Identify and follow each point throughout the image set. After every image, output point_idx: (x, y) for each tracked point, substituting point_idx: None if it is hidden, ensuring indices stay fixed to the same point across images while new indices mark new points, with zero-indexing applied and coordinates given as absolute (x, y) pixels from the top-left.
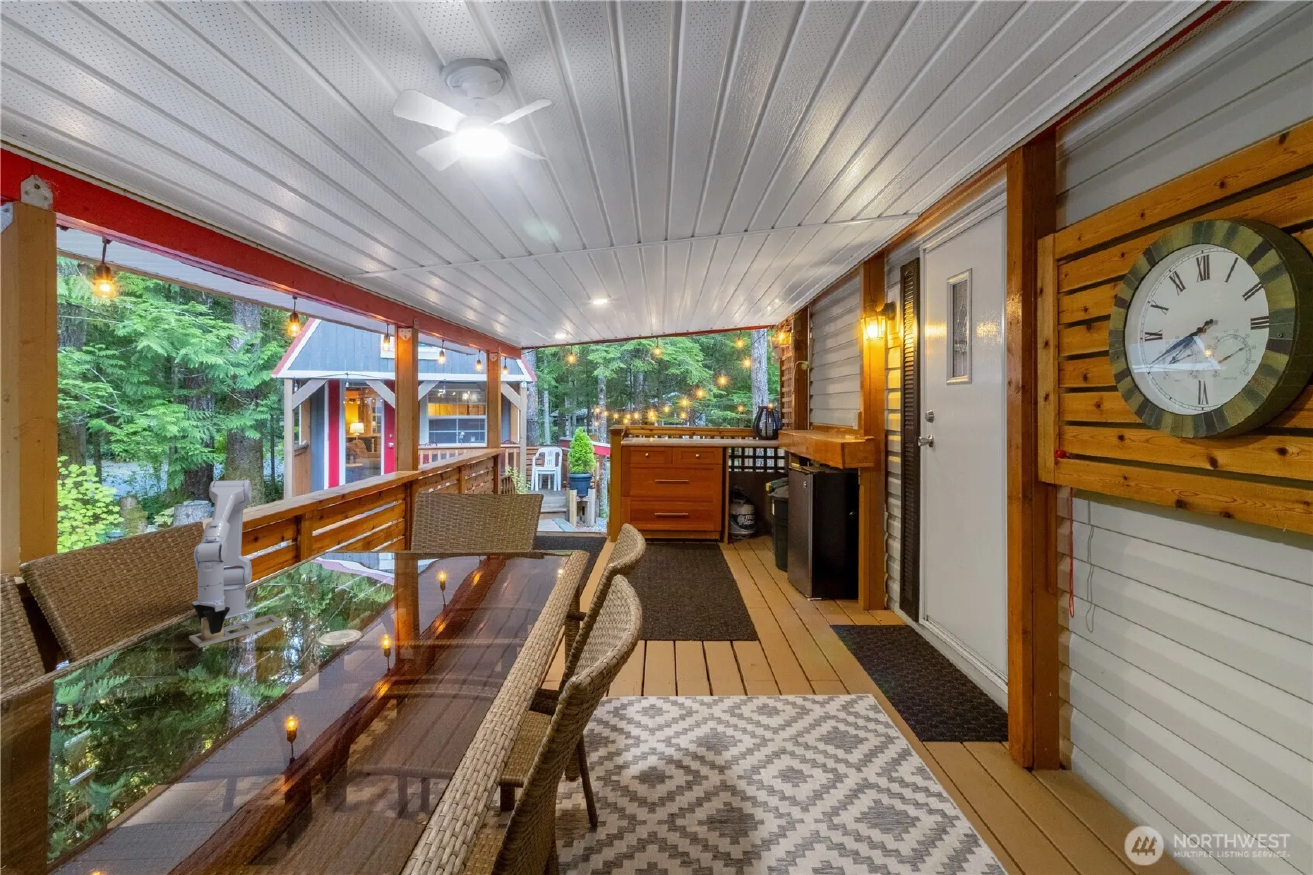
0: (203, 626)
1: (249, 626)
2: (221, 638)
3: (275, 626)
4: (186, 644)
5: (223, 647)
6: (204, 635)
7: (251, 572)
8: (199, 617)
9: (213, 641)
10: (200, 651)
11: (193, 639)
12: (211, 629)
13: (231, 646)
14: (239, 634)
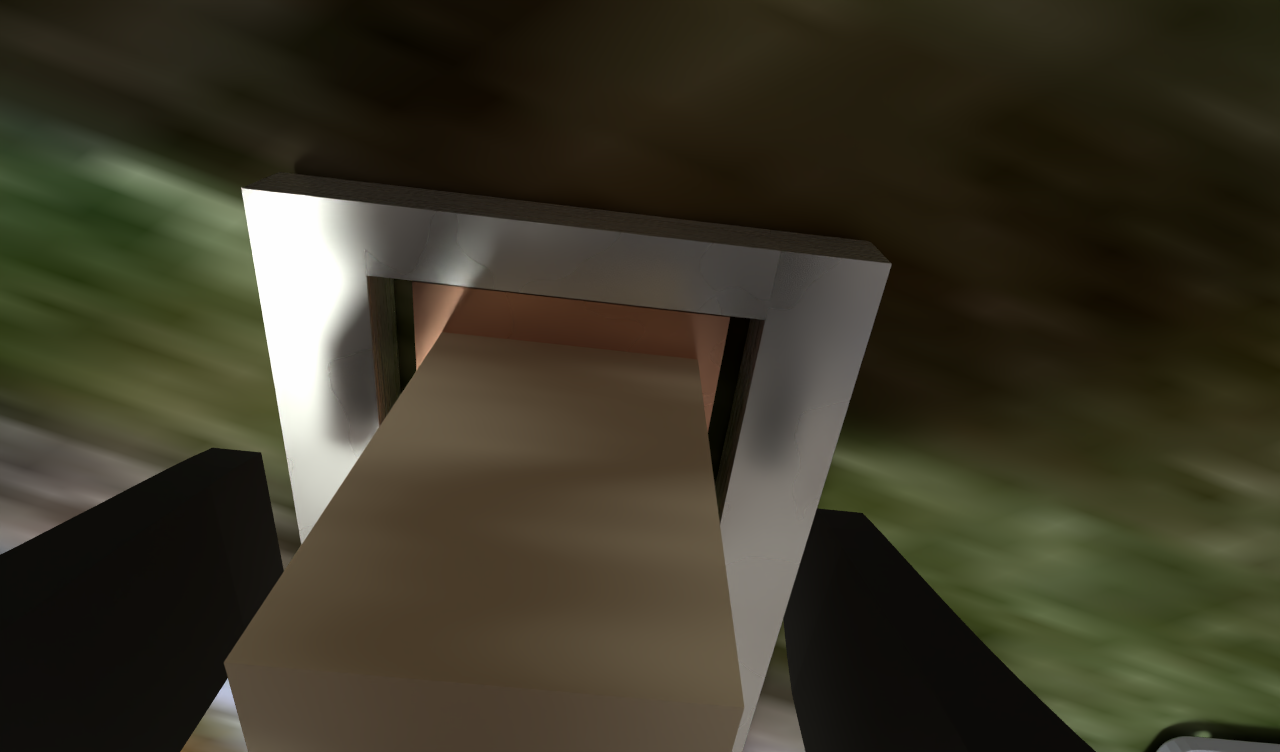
0: (552, 516)
1: None
2: (293, 488)
3: None
4: (701, 124)
5: (66, 382)
6: (519, 392)
7: None
8: (933, 703)
9: (286, 385)
10: (108, 114)
11: (625, 233)
12: (99, 519)
13: (37, 450)
14: None
